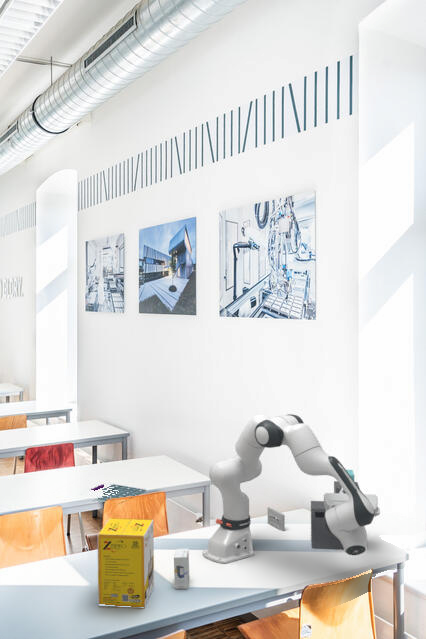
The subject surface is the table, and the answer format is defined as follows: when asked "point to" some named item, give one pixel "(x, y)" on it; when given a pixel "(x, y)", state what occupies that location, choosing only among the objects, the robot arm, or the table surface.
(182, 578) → the ink box
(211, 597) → the table surface
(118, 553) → the packaging box
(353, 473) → the plug
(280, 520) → the cassette
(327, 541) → the rack
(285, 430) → the robot arm
